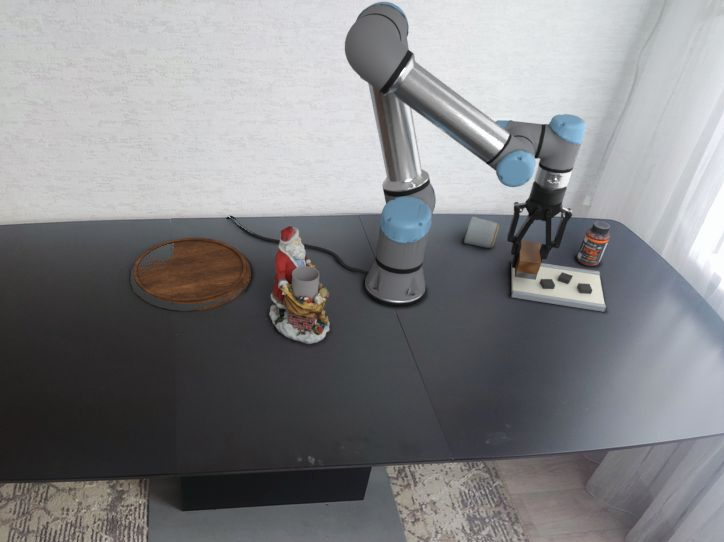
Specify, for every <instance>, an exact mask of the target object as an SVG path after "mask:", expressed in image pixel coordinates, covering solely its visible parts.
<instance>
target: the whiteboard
mask: <svg viewBox="0 0 724 542" xmlns="http://www.w3.org/2000/svg"><path fill="white" fill-rule="evenodd" d="M512 261H513V258H512V259H511V263H510V264H511V265H510V266H511V273H510V274H511V278H510V279H511V281H510V282H511V291H510V294H511V295H510V297H511V298H513V299H520V300H526V301H532V302H540V303H546V304H550V305H551V304H553V305H559V306H565V307H571V308H578V309H584V310H589V311H596V312H603V313H604V312H605V311H606V308H607V304H605V300H604V298H605V297H604V293H603V288H602V287H603V286H602V282H601V273H600V271H599V270H591V269H585V268H579V267H571V266H565V265H557V264H551V263H545V262H544V263H543V262H541V265H540V269H539V272H538V274H537V277H536V280H533V279H526V278H519V277H515V268H512ZM562 272H563V273H566V274H569V275H572V276H573V277H572V279H571V281H570V282H569V284H566V283H563V282H560V281H557V280H558V277H559V276H560V274H561V273H562ZM541 279H552V280H553V282H554V284H555V287H554V289H543V288H542V286H541V284H540V280H541ZM578 283H582V284H590V286H591V288H592V293H591V294H585V293H579V290H578V288H577V286H578Z"/></svg>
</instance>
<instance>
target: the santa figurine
mask: <svg viewBox="0 0 724 542" xmlns="http://www.w3.org/2000/svg"><path fill="white" fill-rule="evenodd" d="M280 235H281V236H280V237H279V240H280V242H279V243H278V246H277V247H278V249H277V252H276V254H275V259H274V267H275V268H274V269H275V275H274V283H273V290H272V292H271V293H270V299H271V302H273V304H272V305H271V306H270V309H269V313H268V315H269V317H270V320H271V322H272V325H273V326H274V327H275V329H276V330H277V331H278V332H279V333H280V334H281V335H282V336H283V337H285V338H288V339H290V340H292V341H296V342H299V343H303V344H305V345H312V344H313V345H314V344H317V343H319V342H321V341H322V340H324V338H325V337H326V336H327V333H329V331H330V324H331V322H330V321H329V317H328V315H325V314H326V310H325V308H326V301H327V299H328V298H329V296H330V291H329V290H328V287H327V286H324V287H323V283H322V282H320V272H319V270H318V269H316V265H315V264H313V263H312V261H311V259H309V258H308V256H307V255H306V252H307V251H306V249H305V247H304V245H303V244H304V243H302V238H301V237H300V230H299V228H298V227H294V226H290V225H289V226H287V227H285V228H282V229H281V230H280Z"/></svg>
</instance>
